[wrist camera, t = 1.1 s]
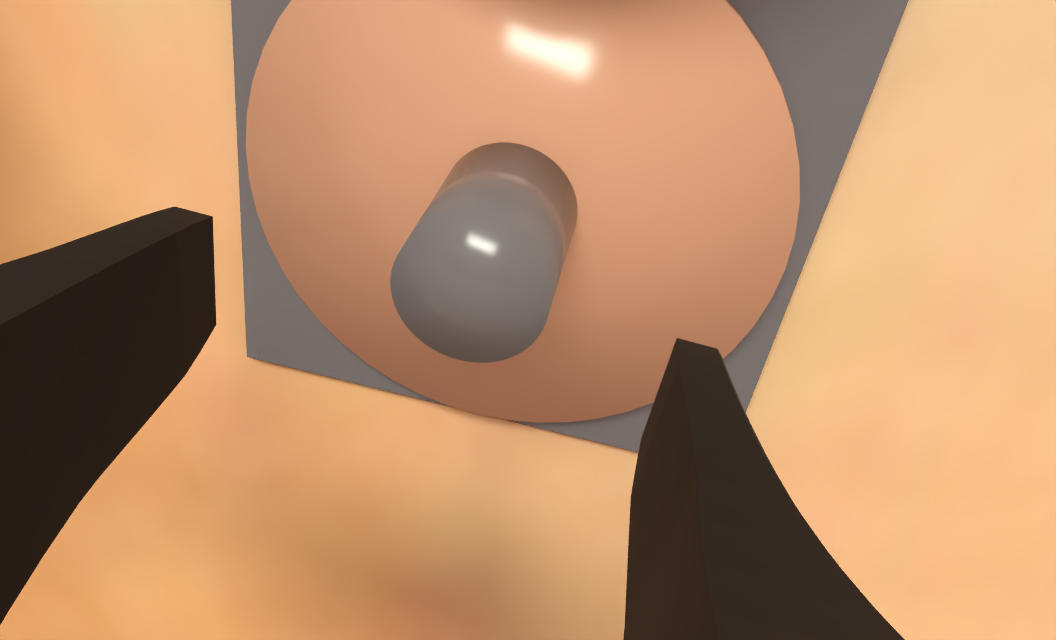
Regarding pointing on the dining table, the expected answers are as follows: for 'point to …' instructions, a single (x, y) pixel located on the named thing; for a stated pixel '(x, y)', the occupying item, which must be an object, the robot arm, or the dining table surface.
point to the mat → (822, 145)
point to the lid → (524, 190)
